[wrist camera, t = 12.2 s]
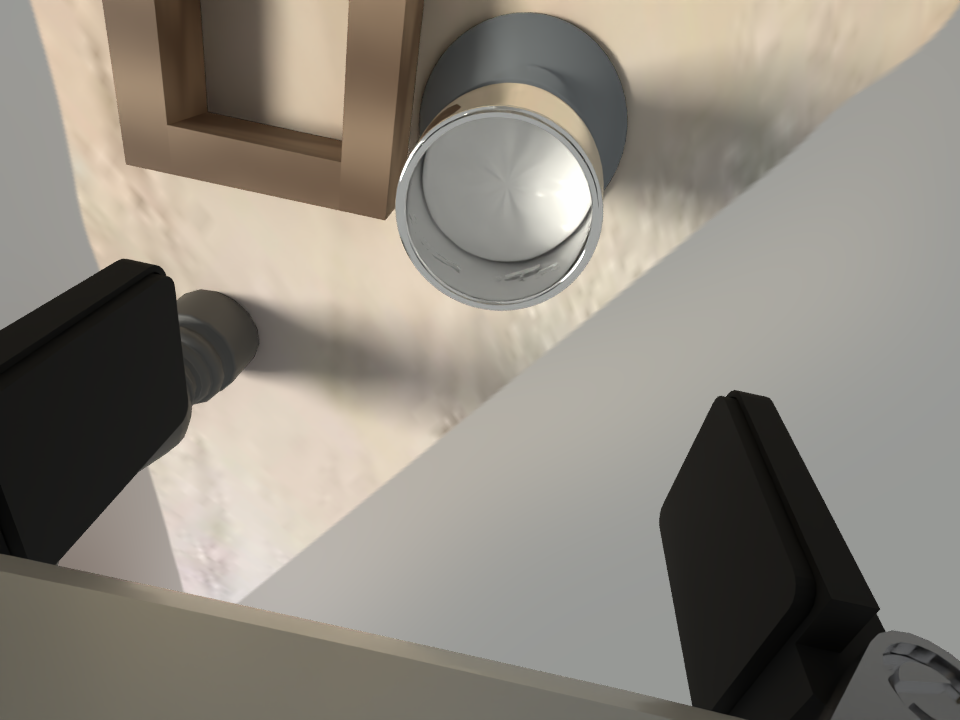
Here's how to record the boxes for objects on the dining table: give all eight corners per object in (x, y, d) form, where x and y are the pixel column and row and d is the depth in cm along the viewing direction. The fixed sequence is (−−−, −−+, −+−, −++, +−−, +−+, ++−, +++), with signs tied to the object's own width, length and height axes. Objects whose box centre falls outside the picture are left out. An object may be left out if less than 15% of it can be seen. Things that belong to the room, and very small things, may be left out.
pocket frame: (136, -164, 27) (74, -188, 23) (435, -101, 27) (416, -115, 23) (169, 148, 34) (126, 164, 31) (402, 198, 34) (385, 220, 31)
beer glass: (615, 145, 31) (652, 247, 18) (507, 218, 34) (474, 350, 21) (542, 22, 28) (526, 41, 16) (432, 112, 31) (343, 189, 18)
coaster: (435, -10, 29) (433, -10, 28) (656, 37, 29) (657, 38, 28) (409, 208, 34) (408, 210, 34) (593, 247, 34) (593, 250, 34)
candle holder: (218, 275, 38) (-204, 613, 17) (277, 349, 41) (-29, 723, 20) (153, 311, 40) (-293, 652, 19) (213, 379, 43) (-124, 747, 22)
